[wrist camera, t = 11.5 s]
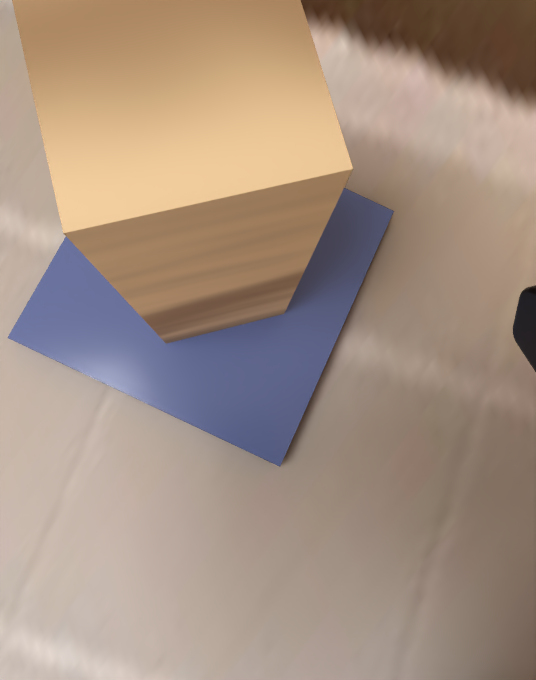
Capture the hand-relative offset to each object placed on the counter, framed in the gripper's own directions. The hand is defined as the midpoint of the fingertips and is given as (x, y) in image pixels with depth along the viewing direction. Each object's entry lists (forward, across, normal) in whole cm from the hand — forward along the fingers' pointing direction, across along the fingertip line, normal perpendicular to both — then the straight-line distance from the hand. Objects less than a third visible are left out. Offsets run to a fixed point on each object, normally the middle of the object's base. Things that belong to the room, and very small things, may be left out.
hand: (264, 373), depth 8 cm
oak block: (+12, 0, +4) cm, 13 cm away
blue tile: (+13, 0, +5) cm, 14 cm away
